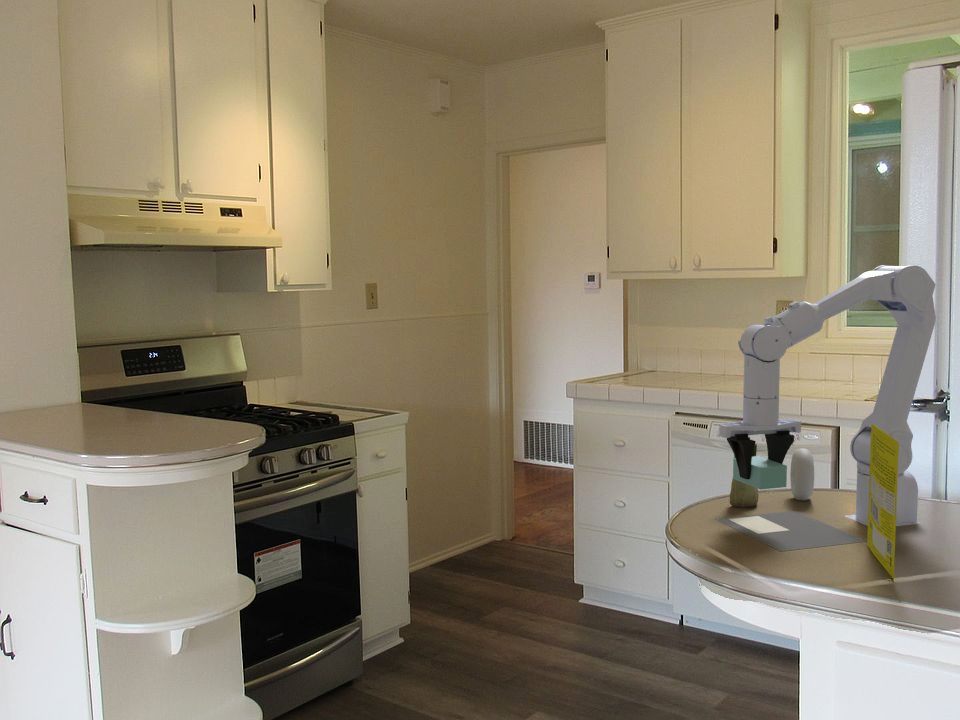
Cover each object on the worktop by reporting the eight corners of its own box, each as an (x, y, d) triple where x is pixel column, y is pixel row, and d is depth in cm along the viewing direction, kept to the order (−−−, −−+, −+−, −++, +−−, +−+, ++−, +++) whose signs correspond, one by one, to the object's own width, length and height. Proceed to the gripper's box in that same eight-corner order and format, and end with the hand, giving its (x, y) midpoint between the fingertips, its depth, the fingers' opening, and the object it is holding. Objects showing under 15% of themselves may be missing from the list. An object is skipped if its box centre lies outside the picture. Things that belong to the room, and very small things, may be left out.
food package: (897, 583, 128) (902, 442, 126) (889, 582, 128) (894, 442, 126) (870, 549, 143) (875, 423, 141) (863, 549, 143) (867, 423, 141)
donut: (815, 508, 167) (816, 454, 166) (795, 507, 168) (796, 453, 167) (807, 494, 177) (808, 443, 176) (788, 493, 178) (789, 443, 177)
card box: (786, 487, 151) (786, 465, 151) (760, 489, 150) (760, 467, 149) (758, 476, 159) (758, 456, 158) (733, 478, 157) (733, 458, 157)
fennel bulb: (753, 503, 171) (754, 440, 170) (765, 510, 166) (766, 445, 165) (723, 505, 170) (724, 441, 169) (734, 512, 165) (735, 446, 164)
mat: (794, 514, 164) (794, 510, 163) (867, 544, 145) (867, 540, 145) (714, 522, 159) (714, 518, 159) (780, 555, 141) (780, 551, 141)
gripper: (784, 391, 159) (782, 468, 160) (710, 395, 155) (708, 474, 156) (809, 397, 152) (807, 477, 153) (733, 401, 148) (731, 484, 149)
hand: (759, 476), depth 154 cm, fingers closed on card box, 5 cm apart
